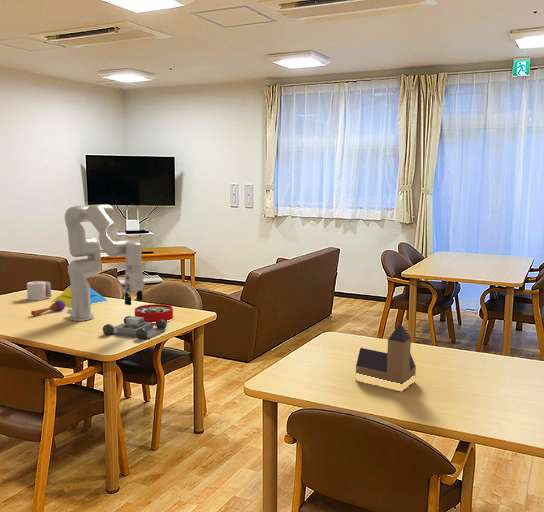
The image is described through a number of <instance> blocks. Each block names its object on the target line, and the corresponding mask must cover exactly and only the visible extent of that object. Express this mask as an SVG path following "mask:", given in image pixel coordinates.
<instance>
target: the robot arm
mask: <svg viewBox="0 0 544 512" xmlns="http://www.w3.org/2000/svg"><path fill="white" fill-rule="evenodd" d="M115 215H116V211H115V209H114V208H113V206H111V205H110V204H107V203H104V204H92V205H74V206H71V207H69V208H67V210H65V214H64V223H65V226H66V230H67V236H68V237H67V238H68V249H69V250H68V251H69V255H70V256H72V257H73V258H80V259H74V260H72V261H70V262H69V263H68V266H67V273H68V276H69V280H70V281H69V282H70V286H71V301H72V307H71V309H68V310H67V311H66V314H67V315H68V314H70V316H69V317H68V319H69V320H70V321H72V320H74V321H73V322H83V321H84V322H85V320H86V321H90V319H91V320H93V319H94V318H95V315H94V314H93V313H92V311H91V310H92V308H91V307H92V306H91V304H90V288H91V285H90V282H89V281H88V279H87V278H88V277H93V276H97V275H99V274H100V273H101V271H102V256H101V249H102V250H103V252H104V253H105V254H106V255H107V256H108V257H111V258H118V257H119V258H120V257H123V256H124V257H125V258H124V259H125V273H124V274H125V275H124V286H123V287H122V289H121V290H122V294H123V297H124V305H126V306H131V305H132V297H131V295H132V293H133V294H134V293H136V301H139V302H142V301H144V299H143V295H144V294H143V293H144V290H145V289H144V288H145V281H144V274H143V269H142V263H143V262H142V244H141V243H140V242H137V241H133V240H130V239H124V240H116V241H115V240H114V241H113V240H112V239H111V238H110V237H109V235H110V234H111V233H113V232H114V231H115V228H116V225H115V223H114V221H113V219H114V218H115ZM81 223H91V224H92V225H93V226H94V227H95V229H96V230H97V232H98V233H99V234H98V239H96V238H94V237H86V229H85V228H84V226H83V225H82V224H81ZM82 257H87V258H82Z"/></svg>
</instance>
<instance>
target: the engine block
mask: <svg viewBox="0 0 544 512" xmlns="http://www.w3.org/2000/svg"><path fill="white" fill-rule="evenodd" d="M130 316H131V317H129V318H126V328H130V329H138V328H140V327H142V326H144V318H143V317H135V315H134V316H132V315H130Z"/></svg>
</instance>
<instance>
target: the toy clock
mask: <svg viewBox="0 0 544 512" xmlns="http://www.w3.org/2000/svg"><path fill="white" fill-rule="evenodd" d="M134 317H143V318H144V322H150V323H152V322H157V321H159V320H165V321H167V320H170V319H172V318H173V319H174V307H173V306H171V305H168V304H157V303H156V304H152V303H151V304H145V305H140V306H137V307H135V308H134ZM173 319H172V320H173Z"/></svg>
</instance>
